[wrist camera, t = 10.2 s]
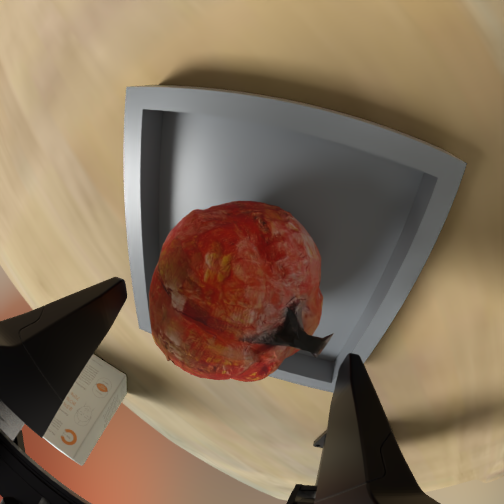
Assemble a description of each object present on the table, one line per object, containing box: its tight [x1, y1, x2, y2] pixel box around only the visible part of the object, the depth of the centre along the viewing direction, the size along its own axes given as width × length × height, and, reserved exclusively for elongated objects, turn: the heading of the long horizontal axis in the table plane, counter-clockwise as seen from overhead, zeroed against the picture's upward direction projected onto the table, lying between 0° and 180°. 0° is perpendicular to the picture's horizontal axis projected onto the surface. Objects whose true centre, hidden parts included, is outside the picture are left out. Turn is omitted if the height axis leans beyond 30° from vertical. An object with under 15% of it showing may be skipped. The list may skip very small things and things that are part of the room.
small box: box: [43, 354, 127, 465], centre depth 25 cm, size 8×6×13 cm
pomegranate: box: [149, 201, 334, 382], centre depth 12 cm, size 7×7×10 cm
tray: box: [124, 85, 467, 393], centre depth 14 cm, size 15×14×2 cm
